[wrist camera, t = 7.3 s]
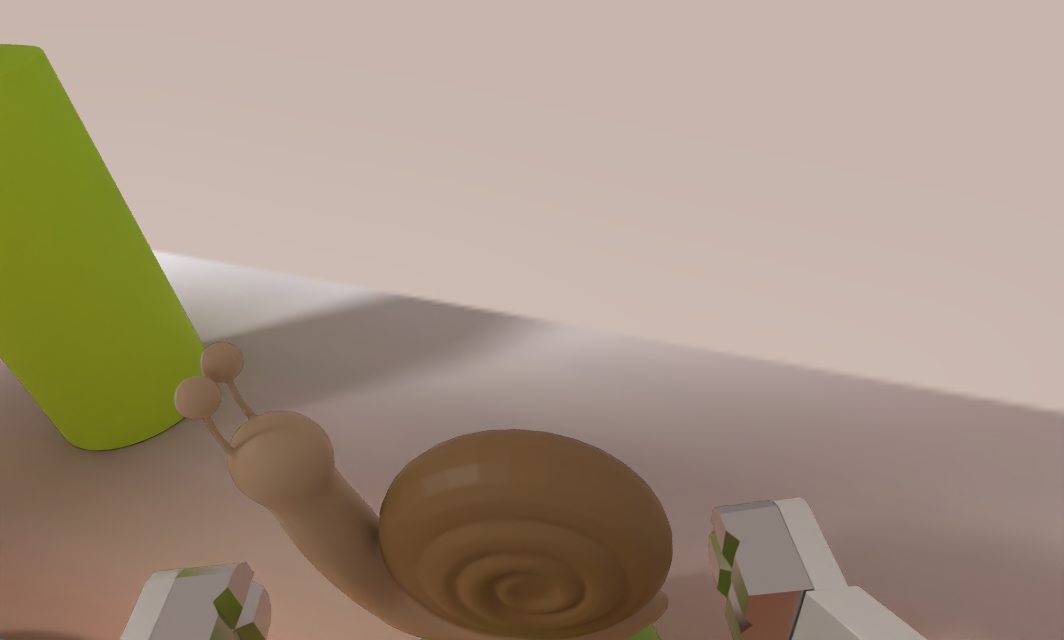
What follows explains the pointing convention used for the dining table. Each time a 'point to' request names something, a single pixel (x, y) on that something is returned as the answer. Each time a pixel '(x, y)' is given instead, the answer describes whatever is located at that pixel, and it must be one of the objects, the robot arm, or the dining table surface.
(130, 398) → the soap dispenser
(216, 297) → the dining table surface
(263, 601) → the robot arm
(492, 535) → the snail figurine
